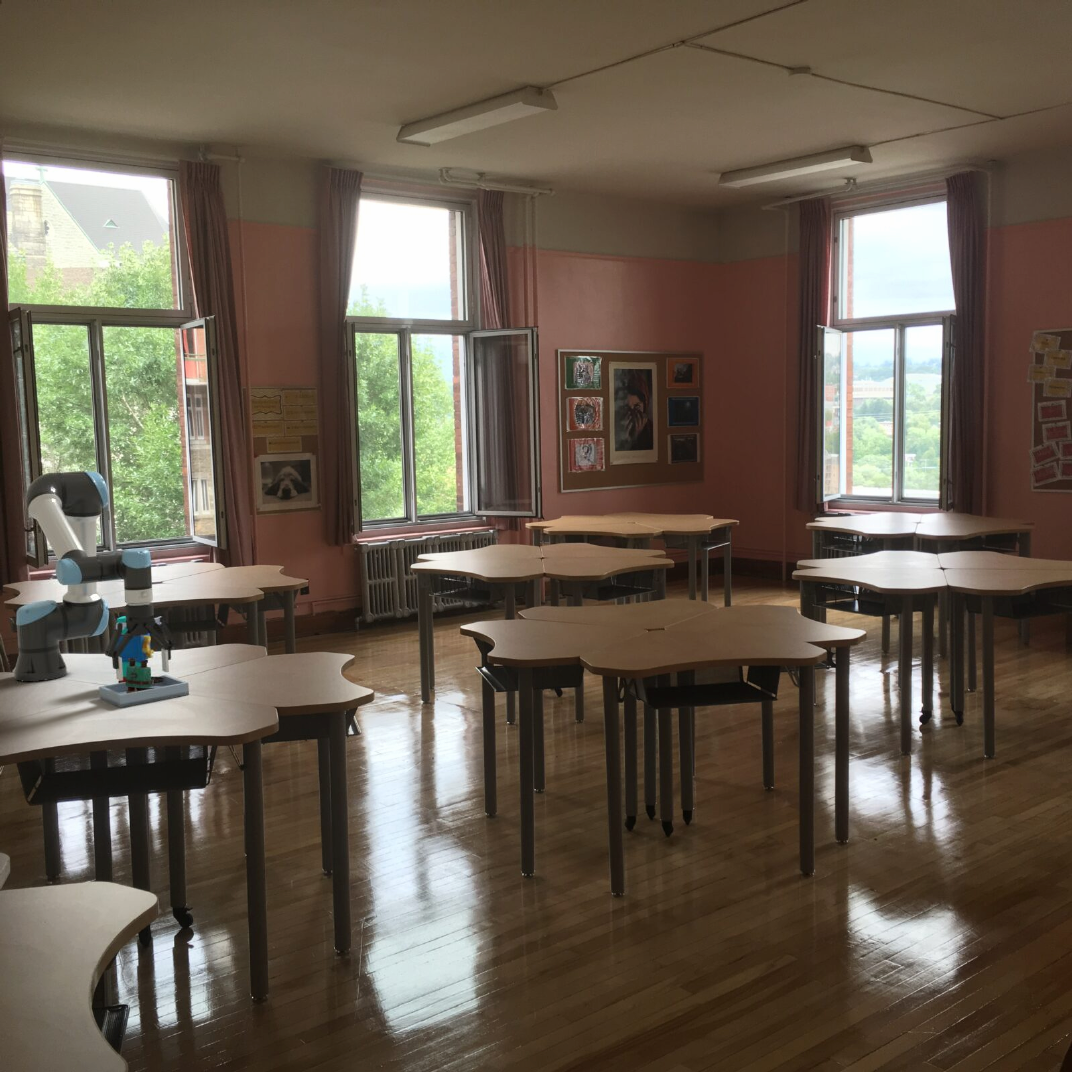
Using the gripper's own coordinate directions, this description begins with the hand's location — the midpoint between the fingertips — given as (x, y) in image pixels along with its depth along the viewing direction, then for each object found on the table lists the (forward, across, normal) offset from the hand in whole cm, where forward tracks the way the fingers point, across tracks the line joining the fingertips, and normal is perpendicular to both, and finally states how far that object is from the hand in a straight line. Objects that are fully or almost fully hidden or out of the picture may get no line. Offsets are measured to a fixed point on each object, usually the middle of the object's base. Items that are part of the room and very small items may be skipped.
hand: (143, 675), depth 313 cm
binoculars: (+5, 0, 0) cm, 5 cm away
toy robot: (+7, +4, +16) cm, 17 cm away
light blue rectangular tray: (+6, 0, 0) cm, 6 cm away
